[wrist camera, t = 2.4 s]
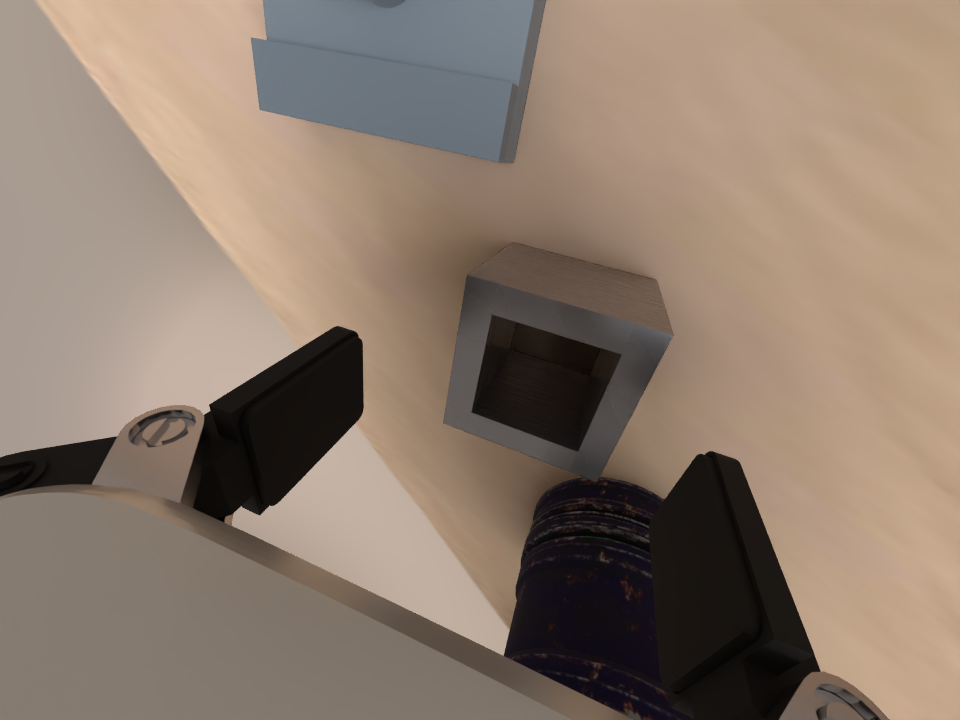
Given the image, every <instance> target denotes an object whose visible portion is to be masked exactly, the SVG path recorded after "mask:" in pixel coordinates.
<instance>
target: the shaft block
mask: <svg viewBox="0 0 960 720" xmlns="http://www.w3.org/2000/svg"><path fill="white" fill-rule="evenodd" d="M545 2H546V0H263V6H264V16H265V25H266V35H267V40H262V39H256V38H251V42H252V50H253V58H254V67H255V75H256V83H257V91H258V99H259V107H260V110H263V111H267V112H272V113H276V114H281V115H285V116H290V117H295V118H299V119H304V120H308V121H313V122H317V123H322V124H326V125H331V126H335V127H340V128H344V129H349V130H354V131H358V132H363V133H367V134H372V135H376V136H381V137H385V138H390V139H394V140H399V141H404V142H408V143H413V144H417V145H422V146H426V147H431V148H435V149H440V150H444V151H449V152H453V153H458V154H463V155H467V156H472V157H476V158H481V159H485V160H490V161H494V162H505V163H514V159H515V154H516V149H517V143H518V138H519V133H520V128H521V123H522V118H523V113H524V108H525V103H526V98H527V93H528V88H529V83H530V78H531V73H532V68H533V63H534V57H535V52H536V47H537V42H538V37H539V32H540V27H541V22H542V17H543V12H544V7H545Z"/></svg>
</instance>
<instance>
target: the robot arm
mask: <svg viewBox="0 0 960 720" xmlns="http://www.w3.org/2000/svg"><path fill="white" fill-rule="evenodd" d="M209 406H210V410H211V411H210V412H208V413H206V414H205V415H203V414H202V412H201V411H200V410H198V409H196V408H194V407H190V406H185V405H174V406H167V407H161V408H157V409H155V410H151V411H148V412H146V413H144V414H142V415H140V416H138V417H136V418H134V419H133V420H132V421H130V422H129V423H128V424H126V425H125V427H124V428H123V429H122V430H121V431H120V433H119V435H118V436H117V437H111V438H105V439H98V440H92V441H86V442H80V443H74V444H68V445H61V446H55V447H49V448H43V449H37V450H30V451H24V452H19V453H15V454H11V455H6V456H4V457H1V458H0V720H633V719H631V718H629V717H627V716H625V715H623V714H621V713H619V712H617V711H615V710H613V709H611V708H609V707H607V706H605V705H603V704H601V703H599V702H597V701H595V700H593V699H591V698H588V697H586V696H584V695H582V694H580V693H578V692H576V691H574V690H572V689H570V688H568V687H566V686H564V685H562V684H560V683H558V682H556V681H554V680H552V679H550V678H547V677H545V676H543V675H541V674H539V673H537V672H535V671H533V670H531V669H529V668H527V667H525V666H523V665H521V664H519V663H517V662H515V661H513V660H511V659H509V658H507V657H504V656H502V655H500V654H498V653H496V652H494V651H492V650H490V649H488V648H486V647H484V646H482V645H480V644H478V643H476V642H473V641H472V640H469V639H467V638H465V637H463V636H461V635H459V634H457V633H455V632H453V631H451V630H449V629H447V628H444V627H443V626H441V625H438V624H436V623H434V622H432V621H430V620H428V619H426V618H424V617H422V616H420V615H418V614H416V613H414V612H412V611H409V610H407V609H405V608H403V607H401V606H399V605H397V604H395V603H393V602H391V601H389V600H386V599H384V598H382V597H380V596H378V595H376V594H374V593H372V592H370V591H368V590H366V589H364V588H362V587H360V586H357V585H355V584H353V583H351V582H349V581H347V580H345V579H343V578H341V577H339V576H337V575H334V574H332V573H330V572H328V571H326V570H324V569H322V568H320V567H318V566H316V565H313V564H311V563H309V562H307V561H305V560H303V559H301V558H299V557H297V556H295V555H292V554H290V553H288V552H286V551H284V550H282V549H279V548H278V547H275V546H273V545H271V544H269V543H267V542H265V541H263V540H261V539H259V538H257V537H255V536H252V535H250V534H248V533H246V532H244V531H242V530H239V529H237V528H235V527H233V526H231V525H232V519H233V513H234V512H235V511H236V510H237V509H238V508H239V507H240V506H242V507H243V508H245V509H247V510H249V511H251V512H253V513H255V514H258V515H261V514H262V513H263V511H265V509H266V508H268V507H269V505H270V506H274V505H276V504H277V503H278V502H279V501H281V499H282V498H283V497H284V496H285V495H286V494H287V493H288V492H289V491H290V490H291V489H292V488H293V487H294V486H295V485H296V484H297V483H298V482H299V481H300V480H301V479H302V478H303V477H304V476H305V475H306V473H307V472H308V471H309V470H310V469H311V468H312V467H313V466H314V465H315V464H316V463H317V462H318V461H319V460H320V459H321V458H322V457H323V456H324V455H325V454H326V453H327V452H328V451H329V450H330V449H331V448H332V447H333V446H334V445H335V444H336V443H337V442H338V440H339V439H340V438H341V437H342V436H343V435H344V434H345V433H346V432H347V431H348V430H349V429H350V428H351V427H352V426H353V425H354V424H355V423H356V422H357V421H358V420H359V418H360V417H361V415H362V413H363V408H364V404H363V344H362V340H361V339H360V338H359V336H358V334H357V333H356V332H355V331H352V330H349V329H346V328H343V327H340V326H336V327H334V328H332V329H330V330H329V331H327V332H325V333H324V334H322V335H321V336H319V337H317V338H316V339H314V340H313V341H311V342H309V343H308V344H306V345H305V346H303V347H301V348H300V349H298V350H297V351H295V352H293V353H292V354H290V355H288V356H287V357H285V358H284V359H282V360H281V361H279V362H277V363H276V364H274V365H272V366H271V367H269V368H268V369H266V370H264V371H263V372H261V373H259V374H258V375H256V376H255V377H253V378H251V379H250V380H248V381H247V382H245V383H243V384H242V385H240V386H238V387H237V388H235V389H234V390H232V391H231V392H229V393H227V394H226V395H224V396H222V397H221V398H220V399H218V400H216V401H214V402H213V403H211V404H210V405H209ZM649 543H650V556H651V569H652V581H653V594H654V607H655V619H656V632H657V645H658V657H659V670H660V678H661V682H662V684H663V686H665V687H666V688H668V692H669V703H670V708H672V709H674V710H677V711H679V712H681V713H683V714H685V715H687V716H689V717H691V718H694V720H889V719H888V718H887V717H886V715H885V714H884V713H883V712H882V711H881V710H880V709H879V708H878V707H877V706H876V705H875V704H874V703H873V702H872V701H871V700H870V699H869V698H868V697H866V696H865V695H864V694H863V693H862V692H860V691H859V690H858V689H857V688H856V687H854V686H853V685H851V684H849V683H848V682H846V681H844V680H843V679H841V678H840V677H838V676H835V675H832V674H829V673H826V672H821V671H820V668H819V666H818V663H817V661H816V658H815V655H814V652H813V649H812V647H811V644H810V642H809V639H808V637H807V634H806V631H805V629H804V626H803V624H802V621H801V619H800V616H799V613H798V611H797V608H796V606H795V603H794V601H793V598H792V595H791V593H790V590H789V588H788V585H787V583H786V580H785V577H784V575H783V572H782V570H781V567H780V565H779V562H778V559H777V557H776V554H775V552H774V549H773V547H772V544H771V541H770V539H769V536H768V534H767V531H766V529H765V526H764V523H763V521H762V518H761V516H760V513H759V510H758V508H757V505H756V503H755V500H754V498H753V495H752V492H751V490H750V487H749V485H748V482H747V480H746V477H745V474H744V472H743V469H742V467H741V464H740V463H739V461H738V460H736V459H733V458H730V457H727V456H724V455H722V454H719V453H716V452H713V451H709V452H708V453H706V454H705V455H703V454H699V455H697V456H696V457H695V459H694V460H693V461H692V463H691V464H690V465H689V467H688V468H687V470H686V471H685V472H684V474H683V475H682V477H681V478H680V479H679V481H678V482H677V483H676V485H675V486H674V488H673V489H672V490H671V492H670V493H669V494H668V496H667V497H666V499H665V500H664V501H663V503H662V504H661V505H660V507H659V508H658V510H657V511H656V512H655V514H654V515H653V517H652V518H651V521H650V524H649Z"/></svg>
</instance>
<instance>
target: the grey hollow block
mask: <svg viewBox="0 0 960 720" xmlns="http://www.w3.org/2000/svg"><path fill="white" fill-rule="evenodd" d="M516 322H518V323H521V324H525V325H528V326H531V327H534V328H537V329H541V330H544V331H547V332H550V333H554V334H557V335H560V336H563V337H567V338H570V339H573V340H576V341H579V342H583V343H586V344H589V345H592V346H596V347H599V348H601V349H600V351H599V354H598V356H597V359H596V361H595V364H594V366H593V369H592V371H591V373H590V375H587V374H584V373H581V372H578V371H575V370H572V369H569V368H566V367H563V366H559V365H556V364H553V363H550V362H547V361H544V360H541V359H538V358H535V357H532V356H529V355H526V354H523V353H520V352H517V351H513V350H510V346H511V342H512V338H513V334H514V330H515V326H516ZM673 335H674V334H673V331H672V328H671V325H670V321H669V318H668V315H667V312H666V308H665V305H664V302H663V298H662V295H661V292H660V289H659V285H658V282H657V280H654V279H650V278H646V277H642V276H639V275H635V274H631V273H627V272H623V271H620V270H616V269H612V268H608V267H604V266H601V265H597V264H593V263H589V262H586V261H582V260H578V259H574V258H570V257H567V256H563V255H559V254H555V253H551V252H548V251H544V250H540V249H536V248H533V247H529V246H525V245H521V244H517V243H514V242H512V243H511V244H510V245H508V246H507V247H505V248H504V249H503V250H501V251H500V252H498V253H497V254H496V255H494V256H493V257H491V258H490V259H489V260H487V261H486V262H484V263H483V264H482V265H480V266H479V267H477V268H476V269H475V270H473V271H472V272H470V273H469V274H468V275H467V279H466V285H465V291H464V297H463V304H462V310H461V316H460V322H459V329H458V335H457V341H456V347H455V353H454V360H453V366H452V372H451V378H450V385H449V391H448V397H447V403H446V409H445V416H444V422H443V423H444V424H447V425H449V426H452V427H454V428H457V429H460V430H462V431H465V432H467V433H470V434H473V435H475V436H478V437H481V438H483V439H486V440H488V441H491V442H494V443H496V444H499V445H501V446H504V447H507V448H509V449H512V450H514V451H517V452H520V453H522V454H525V455H528V456H530V457H533V458H535V459H538V460H541V461H543V462H546V463H548V464H551V465H554V466H556V467H559V468H561V469H564V470H567V471H569V472H572V473H574V474H577V475H580V476H582V477H585V478H587V479H590V480H593V481H595V482H597V481H598V479H599V477H600V475H601V473H602V471H603V469H604V468H605V466H606V464H607V462H608V460H609V458H610V456H611V454H612V452H613V450H614V448H615V446H616V444H617V443H618V441H619V439H620V437H621V435H622V433H623V431H624V429H625V427H626V425H627V423H628V421H629V420H630V418H631V416H632V414H633V412H634V410H635V408H636V406H637V404H638V402H639V400H640V398H641V396H642V395H643V393H644V391H645V389H646V387H647V385H648V383H649V381H650V379H651V377H652V375H653V373H654V371H655V370H656V368H657V366H658V364H659V362H660V360H661V358H662V356H663V354H664V352H665V350H666V348H667V347H668V345H669V343H670V341H671V339H672V337H673Z"/></svg>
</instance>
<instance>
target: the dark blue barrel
mask: <svg viewBox="0 0 960 720" xmlns="http://www.w3.org/2000/svg"><path fill="white" fill-rule="evenodd" d="M663 501H664V500H663V499H662V498H660V497H659V496H657V495H655V494H654V493H652V492H650V491H648V490H646V489H644V488H641V487H639V486H636V485H633V484H630V483H627V482H624V481H619V480H614V479H607V478H599V479H598V481H597V482H595V481H593V480H590V479H587V478H580V479H573V480H569V481H566V482H562V483H560V484H558V485H556V486H554V487H552V488H551V489H550V490H548V491H547V492H546V493H545V494H544V495H543V496H542V497H541V498H540V500H539V502H538V503H537V506H536V509H535V513H534V517H533V524H532V526H531V529H530V533H529V535H528V536H527V538H526V542H525V545H524V549H523V553H522V557H521V569H520V573H519V576H518V581H517V584H516V599H517V603H516V607H515V611H514V615H513V619H512V623H511V628H510V632H509V636H508V640H507V645H506V648H505V653H504V657H507V658H509V659H511V660H513V661H515V662H517V663H519V664H521V665H523V666H525V667H527V668H529V669H531V670H533V671H535V672H537V673H539V674H541V675H543V676H545V677H547V678H550V679H552V680H554V681H556V682H558V683H560V684H562V685H564V686H566V687H568V688H570V689H572V690H574V691H576V692H578V693H580V694H582V695H584V696H586V697H588V698H591V699H593V700H595V701H597V702H599V703H601V704H603V705H605V706H607V707H609V708H611V709H613V710H615V711H617V712H619V713H621V714H623V715H625V716H627V717H629V718H631V719H633V720H694V718H691V717H689V716H687V715H685V714H683V713H681V712H679V711H677V710H674V709H672V708H670V703H669V692H668V688H666V687H665V686H663V684H662V682H661V678H660V670H659V657H658V645H657V632H656V619H655V607H654V594H653V581H652V569H651V556H650V543H649V524H650V521H651V518H652V517H653V515H654V514H655V512H656V511H657V510H658V508H659V507H660V505H661V504H662V503H663Z"/></svg>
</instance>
